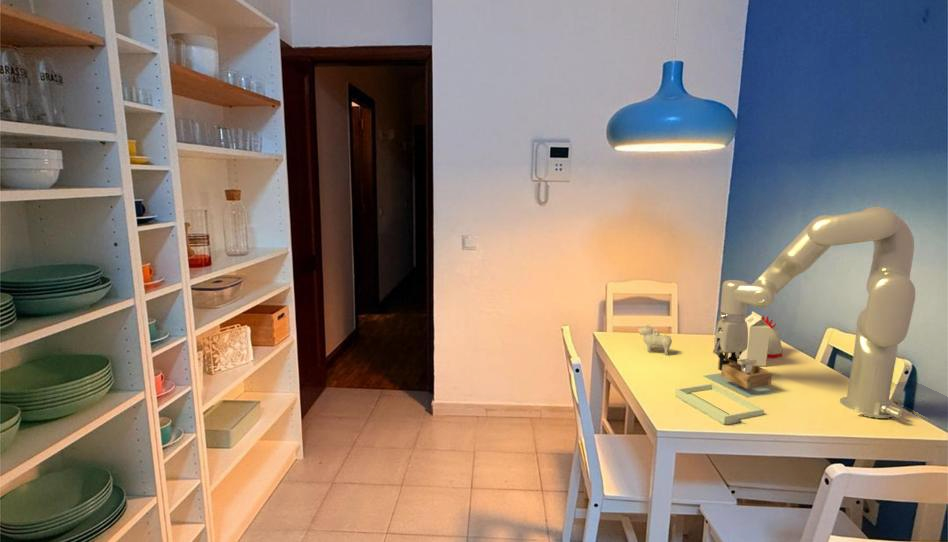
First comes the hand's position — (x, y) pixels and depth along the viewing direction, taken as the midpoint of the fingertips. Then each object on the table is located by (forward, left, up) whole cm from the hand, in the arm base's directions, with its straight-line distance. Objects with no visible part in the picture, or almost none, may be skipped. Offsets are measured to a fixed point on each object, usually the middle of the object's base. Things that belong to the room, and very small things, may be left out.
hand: (727, 369), depth 163 cm
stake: (-7, 0, -3) cm, 8 cm away
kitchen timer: (+19, -37, -4) cm, 41 cm away
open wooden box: (-5, 0, -1) cm, 5 cm away
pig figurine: (+32, +4, -4) cm, 32 cm away
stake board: (-5, 0, -4) cm, 6 cm away
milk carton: (+11, -23, -4) cm, 26 cm away
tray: (-14, +18, -4) cm, 24 cm away
